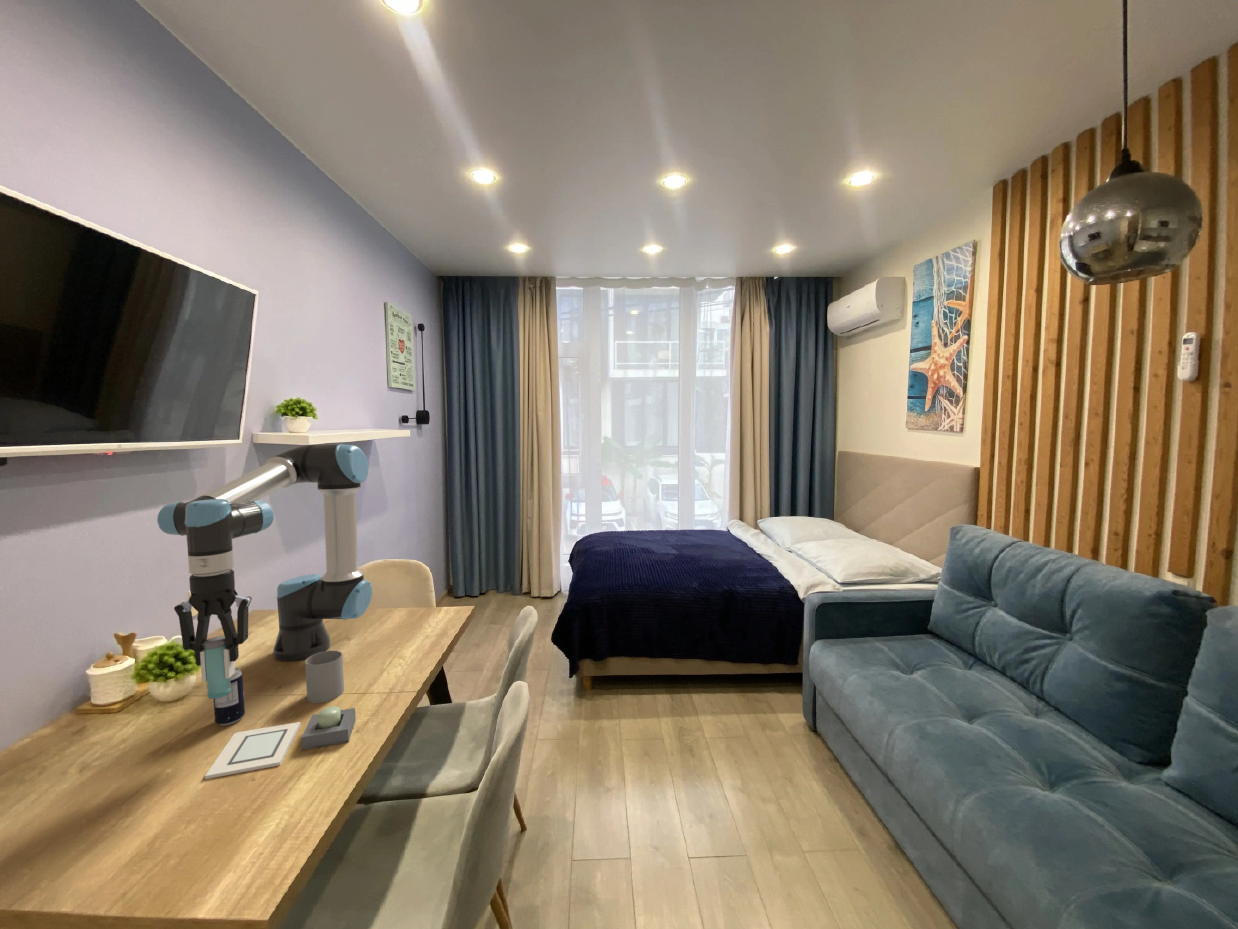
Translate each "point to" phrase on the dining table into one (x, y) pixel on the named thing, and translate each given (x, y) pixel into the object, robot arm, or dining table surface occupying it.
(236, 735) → the picture board
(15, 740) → the dining table surface
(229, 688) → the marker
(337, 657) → the cup
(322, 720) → the button
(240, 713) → the beverage can
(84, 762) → the dining table surface
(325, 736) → the button housing
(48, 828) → the dining table surface
